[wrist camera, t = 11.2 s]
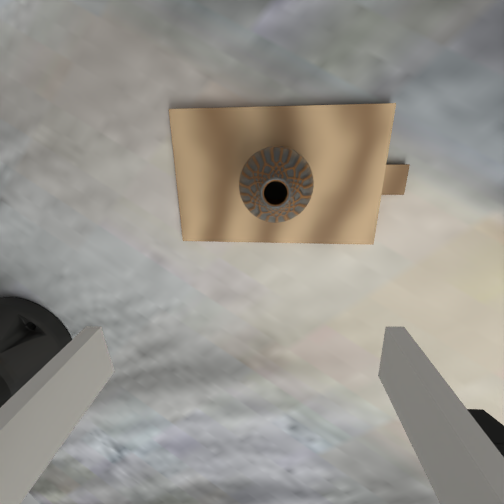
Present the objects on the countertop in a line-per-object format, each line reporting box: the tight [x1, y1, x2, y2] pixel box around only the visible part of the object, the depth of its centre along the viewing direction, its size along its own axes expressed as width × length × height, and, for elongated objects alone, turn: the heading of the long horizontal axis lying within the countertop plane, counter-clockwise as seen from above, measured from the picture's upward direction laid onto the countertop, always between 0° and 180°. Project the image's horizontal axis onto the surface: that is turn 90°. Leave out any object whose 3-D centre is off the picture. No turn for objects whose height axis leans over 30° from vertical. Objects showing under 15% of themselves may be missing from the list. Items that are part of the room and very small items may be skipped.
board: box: [169, 103, 409, 244], centre depth 29 cm, size 24×14×1 cm, turn 91°
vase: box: [239, 146, 314, 223], centre depth 24 cm, size 7×7×9 cm
